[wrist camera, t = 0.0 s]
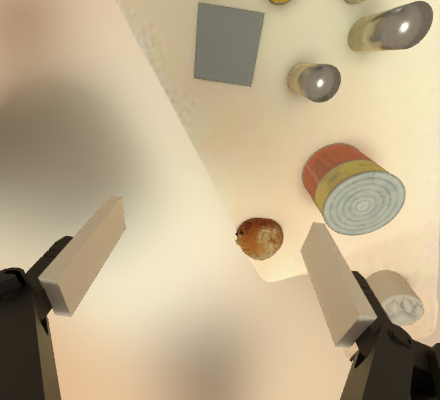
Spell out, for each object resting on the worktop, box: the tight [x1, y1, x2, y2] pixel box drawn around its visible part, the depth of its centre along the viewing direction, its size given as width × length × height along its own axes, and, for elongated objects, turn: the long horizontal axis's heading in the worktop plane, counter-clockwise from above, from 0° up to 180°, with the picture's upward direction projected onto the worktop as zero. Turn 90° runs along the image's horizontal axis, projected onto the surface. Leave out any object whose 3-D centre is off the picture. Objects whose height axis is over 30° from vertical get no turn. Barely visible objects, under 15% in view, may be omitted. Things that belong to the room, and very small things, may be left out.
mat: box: [194, 3, 264, 86], centre depth 33 cm, size 9×9×1 cm
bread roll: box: [236, 218, 283, 260], centre depth 50 cm, size 10×10×8 cm
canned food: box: [302, 143, 406, 235], centre depth 38 cm, size 11×11×12 cm
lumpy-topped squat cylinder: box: [366, 270, 424, 326], centre depth 57 cm, size 10×13×9 cm
